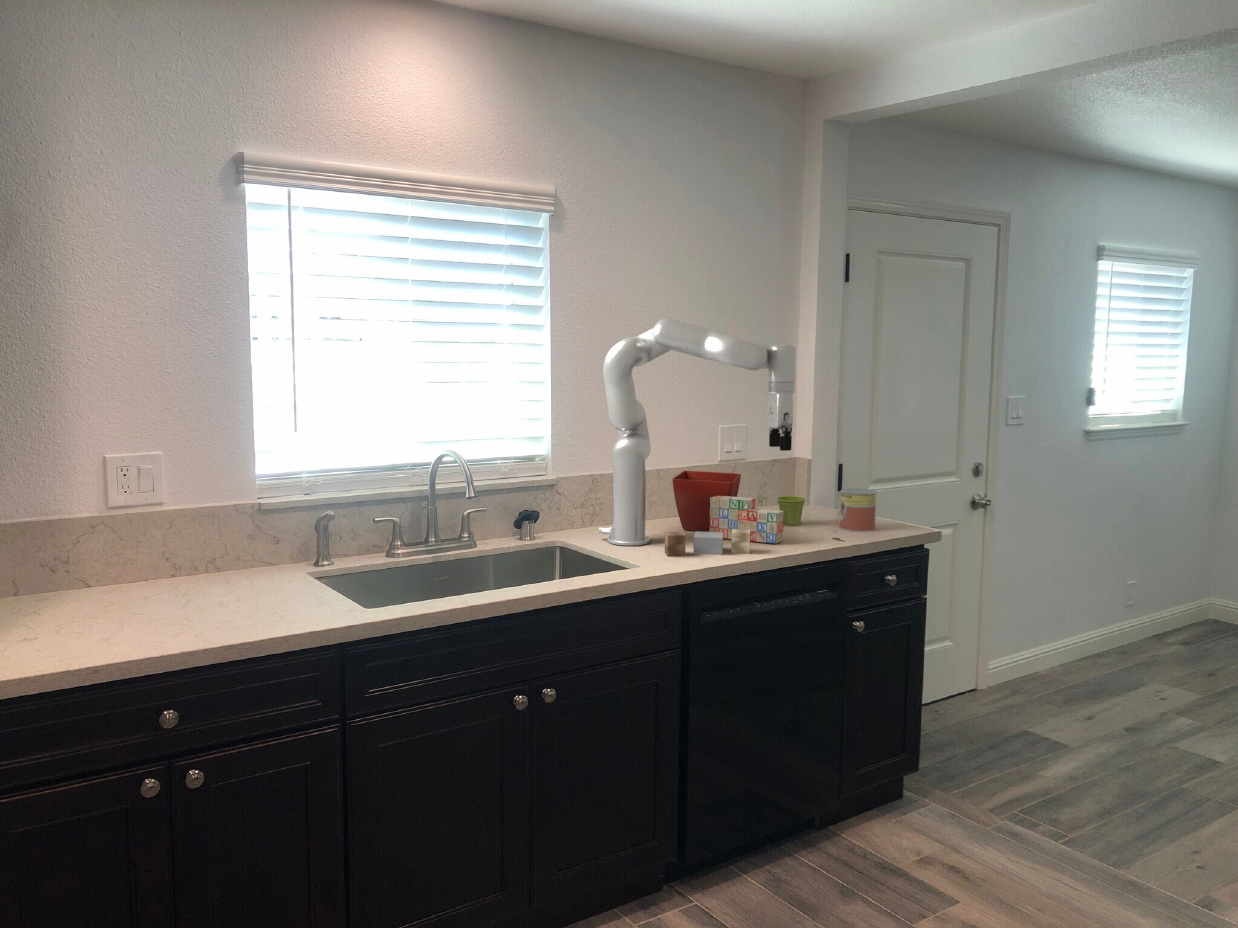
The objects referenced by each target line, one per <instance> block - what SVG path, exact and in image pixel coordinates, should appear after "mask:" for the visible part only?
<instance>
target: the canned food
mask: <svg viewBox="0 0 1238 928" xmlns="http://www.w3.org/2000/svg"><path fill="white" fill-rule="evenodd" d="M839 492H840V497H839V519H838V521H839V523H838V524H839V525H838V528H839V529H840V530H843V531H849V532H859V533H860V532H865V533H866V532H872V531H875V530H876V511H877V509H876V508H877V507H876V506H877V491H876V490H872V489H867V488H844V489H841V490H840V491H839Z"/></svg>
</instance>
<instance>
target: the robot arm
mask: <svg viewBox="0 0 1238 928" xmlns="http://www.w3.org/2000/svg"><path fill="white" fill-rule="evenodd" d="M670 351H673V352H677V353H681V354H686V355H687V356H688V355H689V356H692V357H696V358H699V359H704V360H707V361H713V362H714V361H715V362H719V363H722V364H725V365H729V366H733V367H737V368H741V369H744V370H747V371H748V370H749V371H753V372H754V371H758V370H764V369H768V371H767V394H768V400H767V410H766V412H767V413H766V426H767V427H769V429H768V432H769V435H768V437H769V438H768V440H769V441H768V447H770V448H777V447H779V450H780V451H783V452H784V451H786V452H787V451H789V452H790V451H792V439H793V438H792V437H793V432H792V431H793V424H794V400H793V394H796V361H797V360H796V359H797V358H796V357H797V354H796V353H797V351H796V346H795V345H794V344H792V343H791V344H788V343H787V344H786V343H775V344H762V343H755V342H752V341H751V342H750V341H747V340H743V339H739V338H736V337H732V336H729V335H726V334H722V333H720V332H718V331H716V330H713V329H711V328H707V327H703V326H699V325H695V324H691V323H688V322H684V321H680V320H677V319H672V318H661V319H660V320H658V321H656V324H654V326H653V327H652V328H650V329H648V330H646V331H645V332H643V333H640V334H639V335H637V336H635V337H631V336H630V337H626V338H624V339H621V340H620V341H618V342H617V343H615V344H614V345H613V346H612V347H611V348H610V349H609V350H608V352H607V354H606V356H605V358H604V361H603V368H602V373H603V382H604V389H605V396H606V397H605V398H606V403H607V408H608V409H607V410H608V412H607V413H608V418H609V422H610V424H611V425H612V427H613V428H614V429H615V430H616V432H617V439H618V440H617V441H616V442H615V444H614V445H613V448H612V454H611V460H612V478H613V484H612V485H613V487H612V488H613V489H612V490H613V492H612V493H613V497H612V498H613V504H612V505H613V513H612V515H613V516H612V517H613V518H612V519H613V520H612V523H613V524H612V526H609V527H606V526H599V527H598V534H601V535H608V537H607V542H608V543H609V544H612V545H617V546H628V547H630V546H631V547H634V546H636V547H637V546H643V545H647V544H649V543H650V542H651V537H650V536H648V535H646V497H647V495H646V494H647V493H646V491H647V490H646V488H647V485H646V484H647V481H646V480H647V478H646V476H647V475H646V474H647V473H646V460H647V459H648V458H649V456H650V454H651V439H650V433H649V428H648V420H647V415H646V411H645V408H644V406H643V404H642V403H641V401H640V400H638V399H637V397H636V391H635V383H634V378H633V370H634V368H637V367H642V366H643V365H646V364H648V363H649V362H651V361H653V360H655V359H656V358H659V357H661V356H662V355H665V354H667V353H668V352H670Z"/></svg>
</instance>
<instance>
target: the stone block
mask: <svg viewBox="0 0 1238 928" xmlns="http://www.w3.org/2000/svg"><path fill="white" fill-rule="evenodd" d="M694 532H695V533H694V535H693V554H694V555H712V556H713V555H714V556H715V555H716V556H717V555H718V556H722V555H723V552H724V538H723V534H724V532H709V531H696V530H695V531H694Z"/></svg>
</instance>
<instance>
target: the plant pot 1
mask: <svg viewBox="0 0 1238 928" xmlns="http://www.w3.org/2000/svg"><path fill="white" fill-rule="evenodd" d="M741 477H742V474H741V473H735V472H734V473H733V472H718V471H716V472H715V471H703V470H702V471H700V470H683V471H681V472H680V473H678V474H676V475H675V476H674V477H673V478H672V479H671V480H672V489H673V495H674V496H673V497H674V501H675V505H676V510H677V514H678V517H679V521H680V525H681V527H682V529H683V530H686V531H695V532H696V531H698V532H709V531H710V498H711V497H714V496H731V497H738V494H739V487H740V483H741Z"/></svg>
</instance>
